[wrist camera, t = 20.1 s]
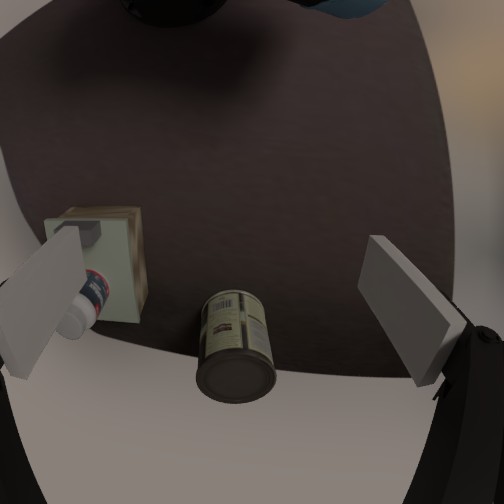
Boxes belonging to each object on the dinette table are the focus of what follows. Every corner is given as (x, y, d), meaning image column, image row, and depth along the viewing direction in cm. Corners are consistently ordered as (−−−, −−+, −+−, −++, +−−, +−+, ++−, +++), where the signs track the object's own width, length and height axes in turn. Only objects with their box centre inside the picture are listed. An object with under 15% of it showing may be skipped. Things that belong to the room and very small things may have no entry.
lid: (46, 218, 33) (32, 230, 30) (127, 218, 34) (117, 230, 31) (68, 313, 40) (58, 329, 36) (140, 319, 41) (134, 337, 37)
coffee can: (233, 348, 53) (236, 412, 41) (188, 315, 50) (179, 381, 37) (278, 314, 51) (293, 378, 38) (233, 276, 47) (236, 340, 34)
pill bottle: (116, 299, 38) (95, 344, 30) (84, 303, 38) (59, 345, 30) (102, 263, 36) (75, 305, 28) (69, 269, 36) (39, 308, 28)
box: (72, 206, 40) (50, 223, 34) (141, 205, 41) (126, 224, 35) (86, 288, 46) (70, 313, 40) (148, 292, 47) (138, 319, 41)
